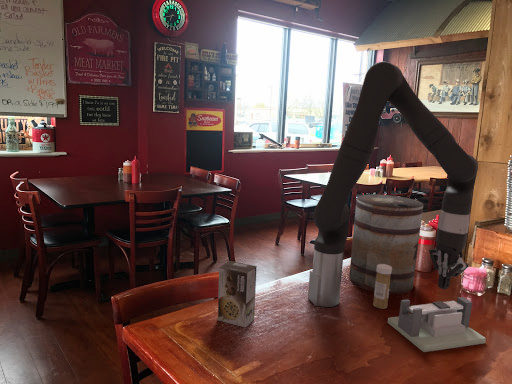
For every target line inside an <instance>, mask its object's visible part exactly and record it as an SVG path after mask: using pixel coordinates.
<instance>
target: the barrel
mask: <svg viewBox="0 0 512 384" xmlns="http://www.w3.org/2000/svg"><path fill="white" fill-rule="evenodd" d="M355 202H356V203H355V213H354V214H355V215H354V221H353V233H352V234H353V235H352V244H351V255H350V265H349V273H348V274H349V275H348V277H349V281H350V282H351V283H352V284H354V285H355V287H358V288H361V289H363V290H366V291H369V292H371V291H372V293H374V291H375V282H376V274H377V271H376V269H377V265H378V264H386V265H389V266H391V267H392V272H391V276H390V285H389V295H402V294H406V293H409V292H411V291H412V290H413V288H414V283H415V282H414V281H415V275H416V273H415V272H416V265H417V257H418V250H419V244H420V242H419V241H420V234H421V228H422V227H421V226H422V218H423V211H424V203H422V202H421V201H419V200H416V199H412V198H408V197H405V196H397V195H391V194H390V195H388V194H362V195H359V196H357V197H356V201H355Z"/></svg>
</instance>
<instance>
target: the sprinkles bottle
mask: <svg viewBox="0 0 512 384" xmlns="http://www.w3.org/2000/svg"><path fill="white" fill-rule="evenodd" d="M376 271H377V274H376V282H375V291H374V292H373V293H374V294H373V302H372V305H373V307H374V308H376V309H379V310H380V309H381V310H383V309H384V310H385V309H387V308H388V306H389V305H388V301H389V296H390V294H389V285H390V276H391V272H392V267H391V266H389V265H386V264H378V265H377V269H376Z"/></svg>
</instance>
